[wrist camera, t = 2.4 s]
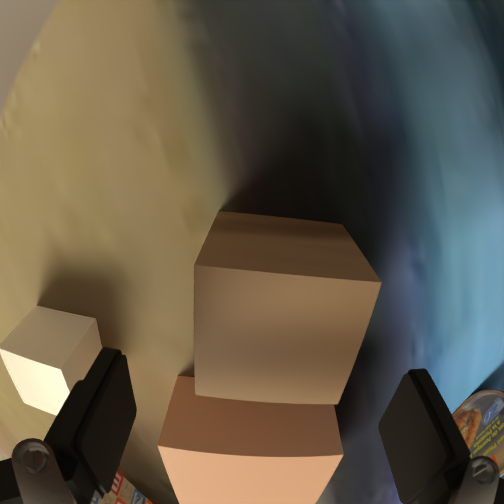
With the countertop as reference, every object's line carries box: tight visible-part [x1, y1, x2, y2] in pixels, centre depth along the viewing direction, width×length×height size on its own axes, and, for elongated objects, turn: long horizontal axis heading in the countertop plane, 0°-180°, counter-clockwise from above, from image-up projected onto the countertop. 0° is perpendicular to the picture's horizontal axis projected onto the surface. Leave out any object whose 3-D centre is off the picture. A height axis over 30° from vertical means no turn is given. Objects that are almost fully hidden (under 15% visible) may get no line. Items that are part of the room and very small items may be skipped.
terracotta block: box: [158, 375, 343, 504], centre depth 19 cm, size 10×10×6 cm
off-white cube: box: [0, 306, 102, 416], centre depth 17 cm, size 5×5×5 cm
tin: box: [403, 389, 504, 504], centre depth 19 cm, size 15×3×8 cm, turn 159°
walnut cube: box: [194, 211, 382, 404], centre depth 14 cm, size 6×6×6 cm
